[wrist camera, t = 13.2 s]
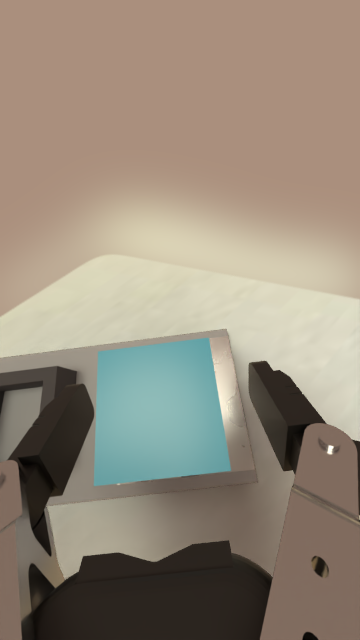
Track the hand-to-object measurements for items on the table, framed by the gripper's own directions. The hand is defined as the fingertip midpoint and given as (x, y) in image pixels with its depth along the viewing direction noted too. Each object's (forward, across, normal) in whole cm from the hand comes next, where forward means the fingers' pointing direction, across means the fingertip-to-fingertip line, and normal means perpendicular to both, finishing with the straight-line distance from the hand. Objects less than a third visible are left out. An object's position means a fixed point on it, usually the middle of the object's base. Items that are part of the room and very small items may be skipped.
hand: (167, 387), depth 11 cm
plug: (+5, 0, +6) cm, 8 cm away
